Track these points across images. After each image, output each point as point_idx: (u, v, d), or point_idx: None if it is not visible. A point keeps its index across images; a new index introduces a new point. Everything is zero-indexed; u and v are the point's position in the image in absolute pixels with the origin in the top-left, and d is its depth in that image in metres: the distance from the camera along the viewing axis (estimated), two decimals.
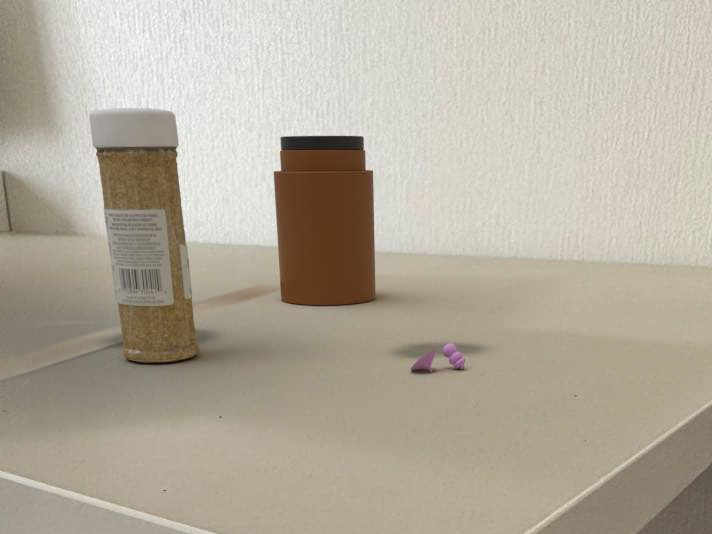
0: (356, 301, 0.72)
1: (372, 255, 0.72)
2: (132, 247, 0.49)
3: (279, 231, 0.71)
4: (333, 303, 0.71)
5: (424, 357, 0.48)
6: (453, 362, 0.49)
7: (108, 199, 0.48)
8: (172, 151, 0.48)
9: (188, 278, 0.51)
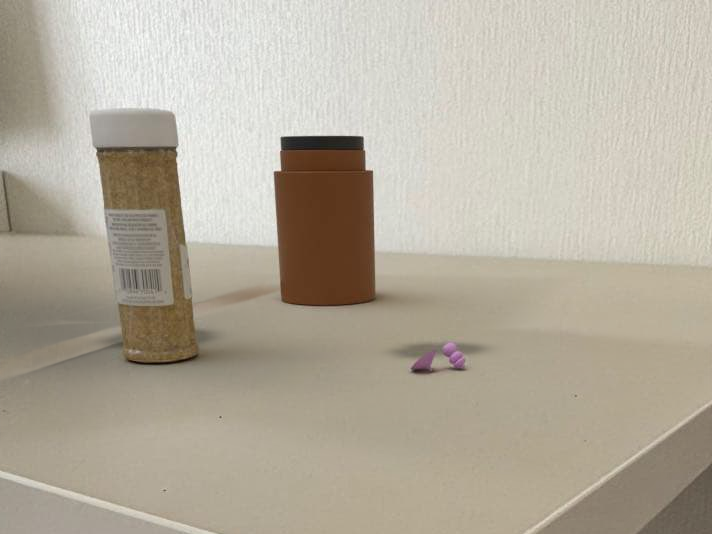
0: (356, 301, 0.72)
1: (372, 255, 0.72)
2: (132, 247, 0.49)
3: (279, 231, 0.71)
4: (333, 303, 0.71)
5: (424, 356, 0.48)
6: (453, 361, 0.49)
7: (108, 199, 0.48)
8: (172, 151, 0.48)
9: (188, 278, 0.51)
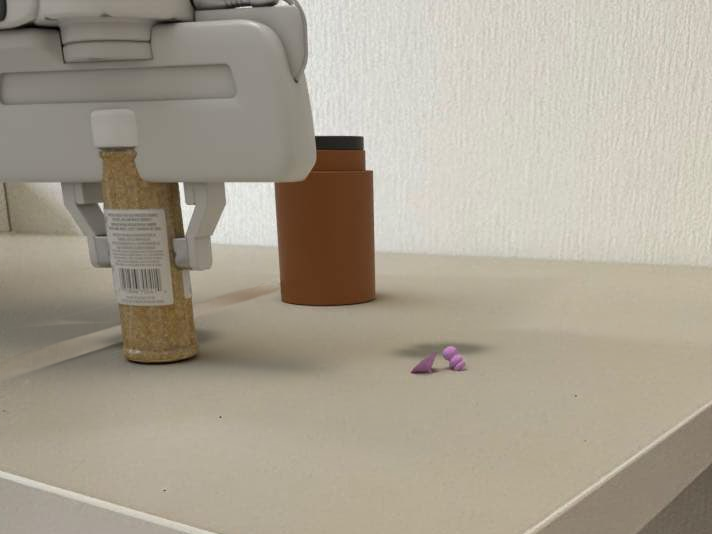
0: (356, 301, 0.72)
1: (372, 255, 0.72)
2: (131, 246, 0.49)
3: (279, 231, 0.71)
4: (333, 303, 0.71)
5: (424, 360, 0.48)
6: (453, 365, 0.49)
7: (107, 199, 0.48)
8: None
9: (188, 278, 0.51)
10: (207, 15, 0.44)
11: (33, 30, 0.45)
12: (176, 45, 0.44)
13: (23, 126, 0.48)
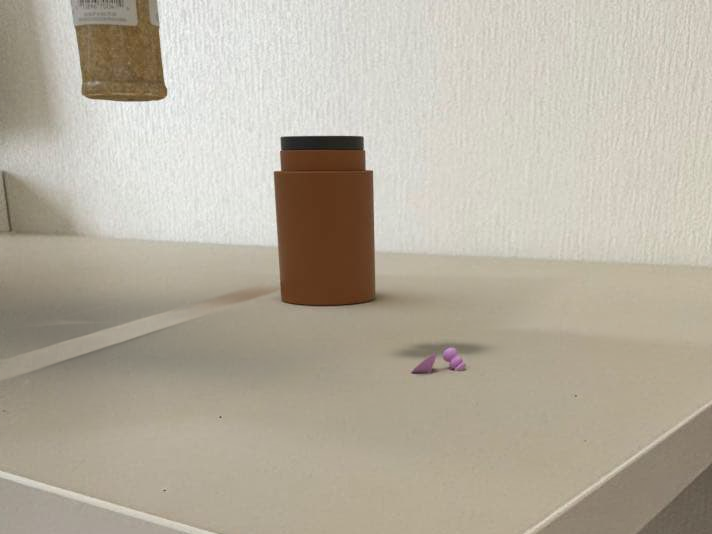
0: (356, 301, 0.72)
1: (372, 255, 0.72)
2: None
3: (279, 231, 0.71)
4: (333, 303, 0.71)
5: (425, 361, 0.48)
6: (453, 366, 0.49)
7: None
8: None
9: (154, 1, 0.46)
10: None
11: None
12: None
13: None
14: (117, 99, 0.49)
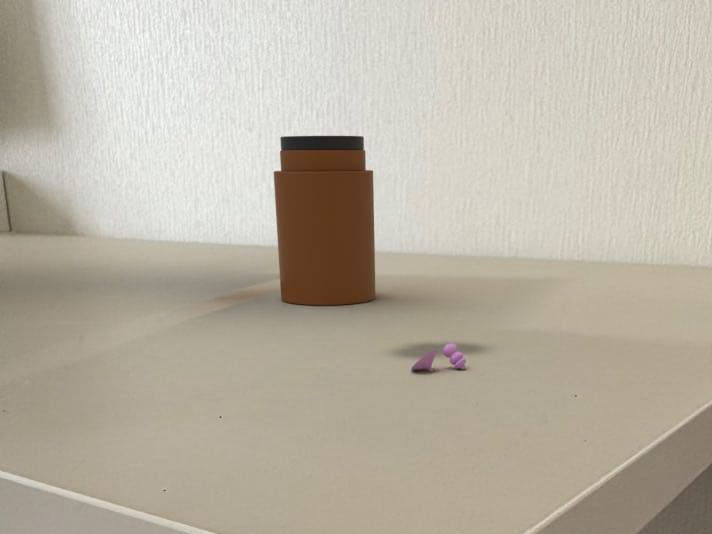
0: (356, 301, 0.72)
1: (372, 255, 0.72)
2: None
3: (279, 231, 0.71)
4: (333, 303, 0.71)
5: (425, 357, 0.48)
6: (454, 362, 0.49)
7: None
8: None
9: None
10: None
11: None
12: None
13: None
14: None
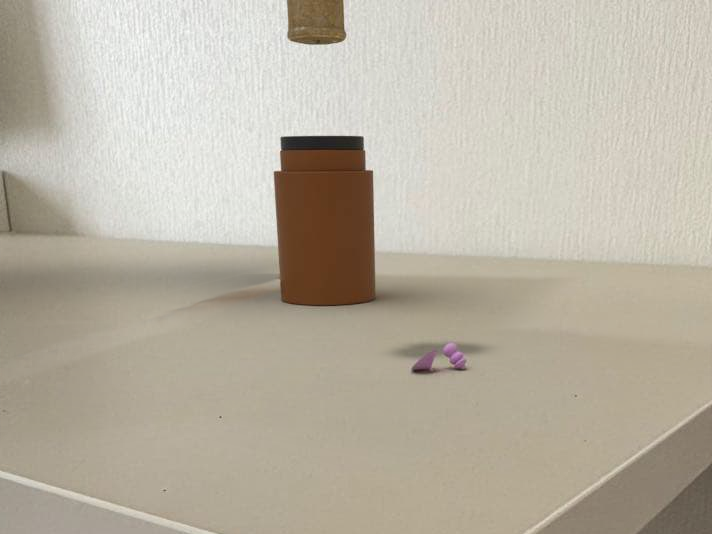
0: (356, 301, 0.72)
1: (372, 255, 0.72)
2: None
3: (279, 231, 0.71)
4: (333, 303, 0.71)
5: (425, 357, 0.48)
6: (454, 362, 0.49)
7: None
8: None
9: None
10: None
11: None
12: None
13: None
14: (308, 42, 0.68)
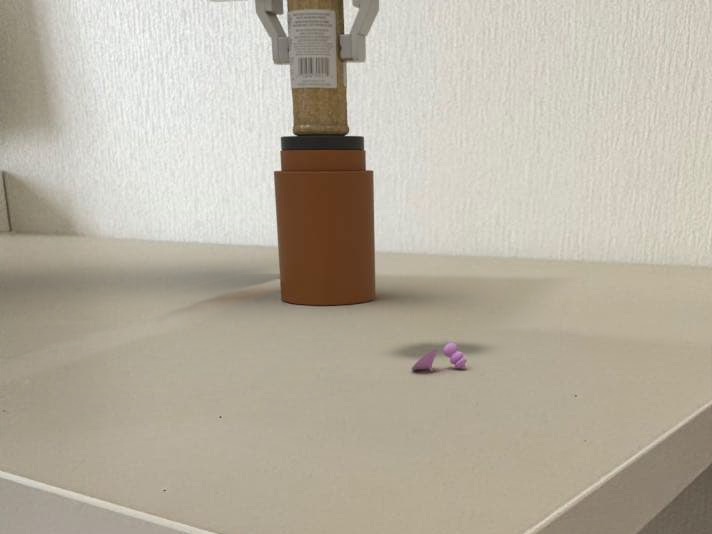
0: (356, 301, 0.72)
1: (372, 255, 0.72)
2: (310, 39, 0.65)
3: (279, 231, 0.71)
4: (333, 303, 0.71)
5: (425, 357, 0.48)
6: (454, 362, 0.49)
7: (293, 2, 0.65)
8: None
9: (346, 70, 0.68)
10: None
11: None
12: None
13: None
14: None
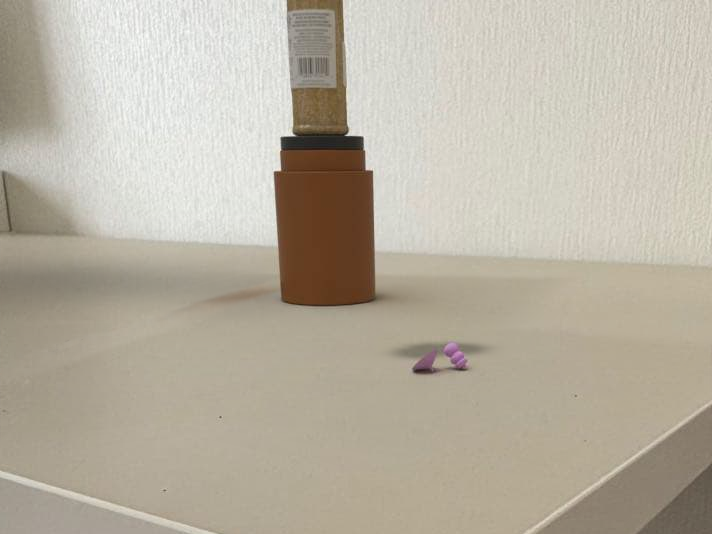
0: (356, 301, 0.72)
1: (372, 255, 0.72)
2: (310, 39, 0.65)
3: (279, 231, 0.71)
4: (333, 303, 0.71)
5: (426, 357, 0.48)
6: (455, 362, 0.49)
7: (293, 2, 0.65)
8: None
9: (345, 70, 0.68)
10: None
11: None
12: None
13: None
14: None
